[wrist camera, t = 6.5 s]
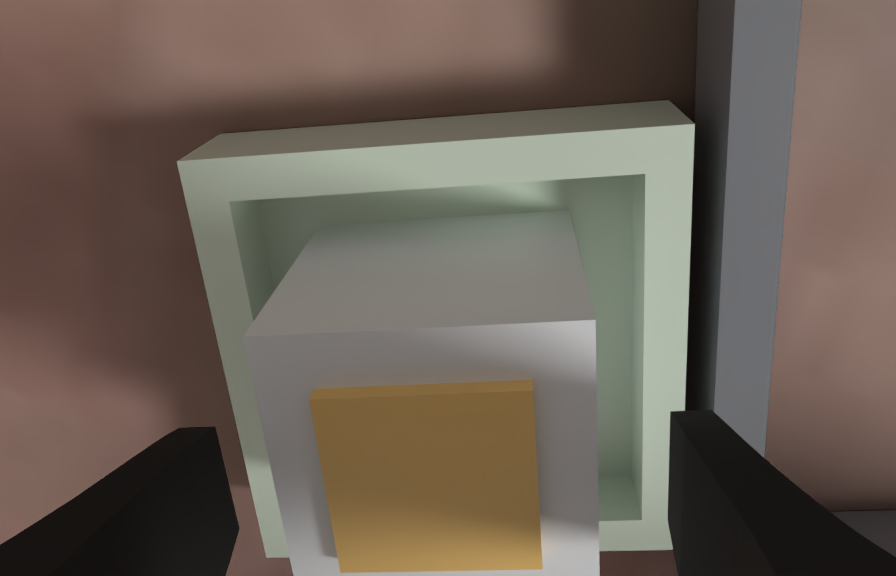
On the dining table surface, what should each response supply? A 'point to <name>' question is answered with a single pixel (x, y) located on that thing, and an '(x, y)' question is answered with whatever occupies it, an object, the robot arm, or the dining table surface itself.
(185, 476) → the robot arm
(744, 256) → the case
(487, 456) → the block
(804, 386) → the dining table surface
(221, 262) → the bay
